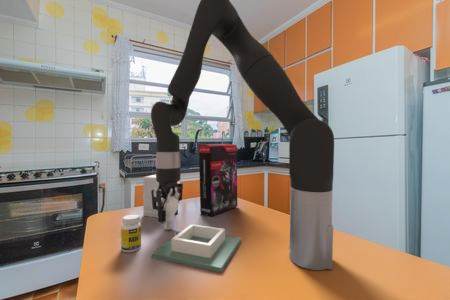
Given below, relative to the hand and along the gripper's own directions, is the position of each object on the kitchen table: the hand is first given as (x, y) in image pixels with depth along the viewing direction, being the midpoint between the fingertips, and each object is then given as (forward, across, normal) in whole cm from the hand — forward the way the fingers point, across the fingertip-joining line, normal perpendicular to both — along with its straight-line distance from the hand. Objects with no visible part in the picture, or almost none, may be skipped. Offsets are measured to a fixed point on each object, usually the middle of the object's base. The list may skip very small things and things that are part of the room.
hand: (168, 218), depth 70 cm
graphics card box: (+4, +24, -8) cm, 26 cm away
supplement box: (+4, +12, +12) cm, 17 cm away
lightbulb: (+4, 0, 0) cm, 4 cm away
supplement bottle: (+4, -14, +2) cm, 15 cm away
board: (+4, -8, -15) cm, 17 cm away
